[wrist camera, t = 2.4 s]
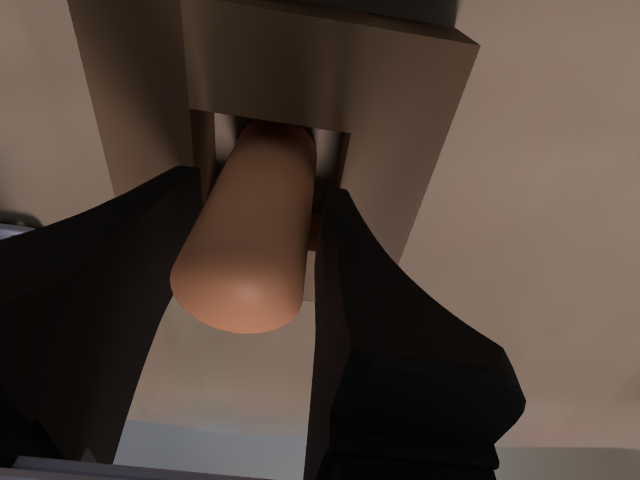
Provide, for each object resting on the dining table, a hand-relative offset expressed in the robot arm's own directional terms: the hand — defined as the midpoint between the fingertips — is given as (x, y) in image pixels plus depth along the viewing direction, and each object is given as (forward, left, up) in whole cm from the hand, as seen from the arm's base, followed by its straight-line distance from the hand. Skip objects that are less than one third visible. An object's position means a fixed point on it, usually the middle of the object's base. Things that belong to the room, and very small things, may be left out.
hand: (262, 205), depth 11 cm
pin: (0, 0, -3) cm, 3 cm away
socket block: (0, 0, -3) cm, 3 cm away
